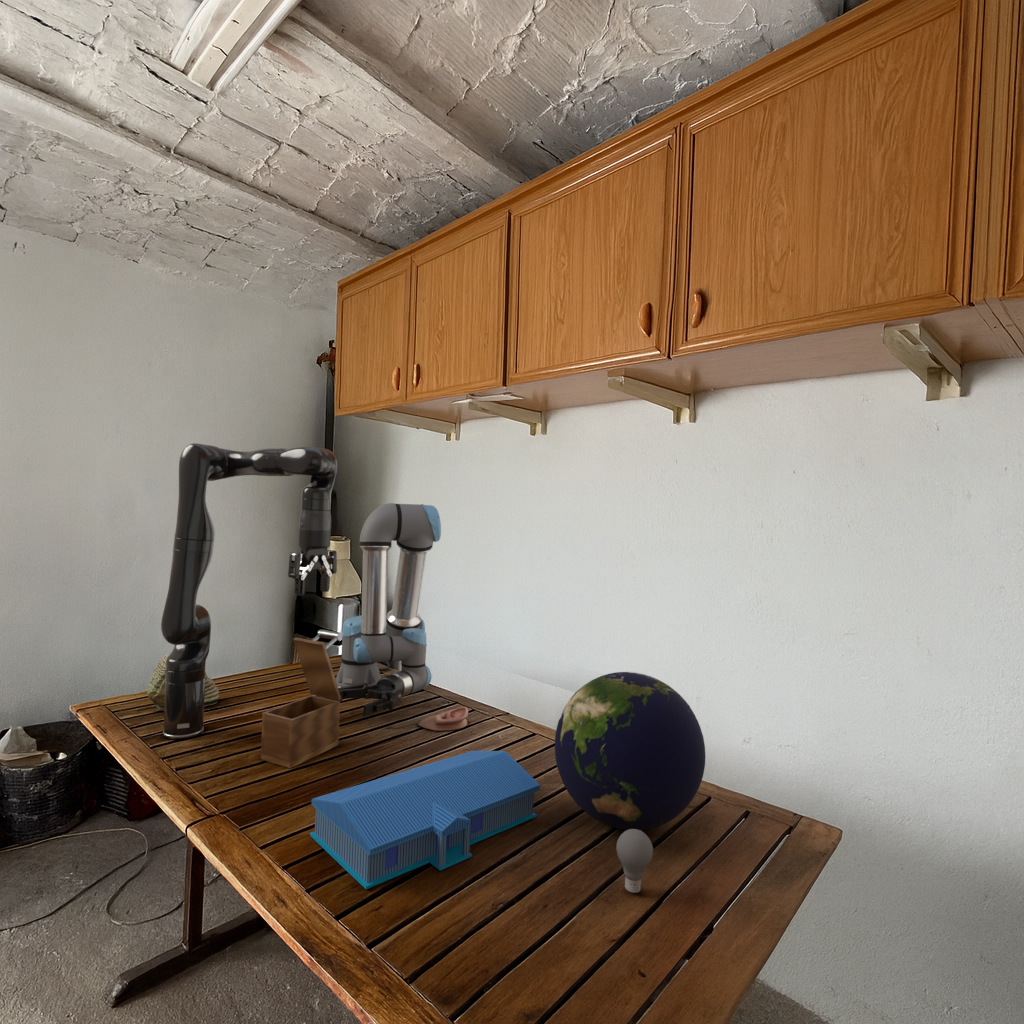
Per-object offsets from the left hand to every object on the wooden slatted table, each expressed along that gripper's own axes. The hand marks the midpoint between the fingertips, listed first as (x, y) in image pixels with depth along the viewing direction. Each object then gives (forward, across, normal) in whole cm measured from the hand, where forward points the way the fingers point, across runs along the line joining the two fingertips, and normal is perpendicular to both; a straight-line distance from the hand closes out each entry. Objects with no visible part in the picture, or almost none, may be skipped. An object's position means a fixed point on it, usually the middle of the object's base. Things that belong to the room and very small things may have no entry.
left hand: (312, 593), depth 157 cm
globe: (+39, +6, -80) cm, 89 cm away
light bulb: (+39, -16, -87) cm, 97 cm away
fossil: (+39, +5, +52) cm, 65 cm away
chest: (+39, -2, 0) cm, 39 cm away
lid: (+20, +2, 0) cm, 20 cm away
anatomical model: (+39, +33, -19) cm, 55 cm away
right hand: (+32, +14, 0) cm, 35 cm away
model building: (+39, -16, -48) cm, 64 cm away
